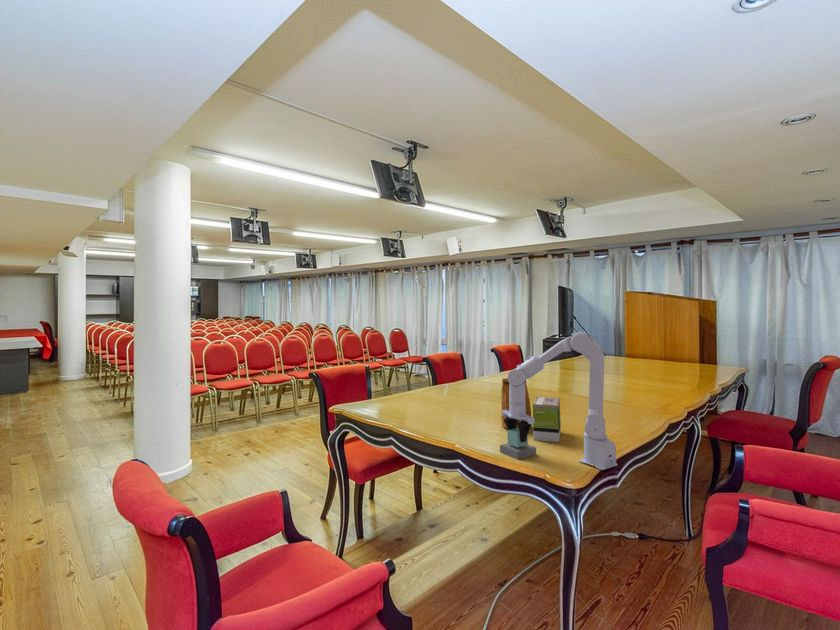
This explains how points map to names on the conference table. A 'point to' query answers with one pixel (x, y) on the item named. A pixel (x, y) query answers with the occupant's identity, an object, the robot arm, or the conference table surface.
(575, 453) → the conference table surface
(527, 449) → the slate plinth
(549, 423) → the tea box
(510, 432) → the teal cube
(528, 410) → the coffee package
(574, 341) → the robot arm
